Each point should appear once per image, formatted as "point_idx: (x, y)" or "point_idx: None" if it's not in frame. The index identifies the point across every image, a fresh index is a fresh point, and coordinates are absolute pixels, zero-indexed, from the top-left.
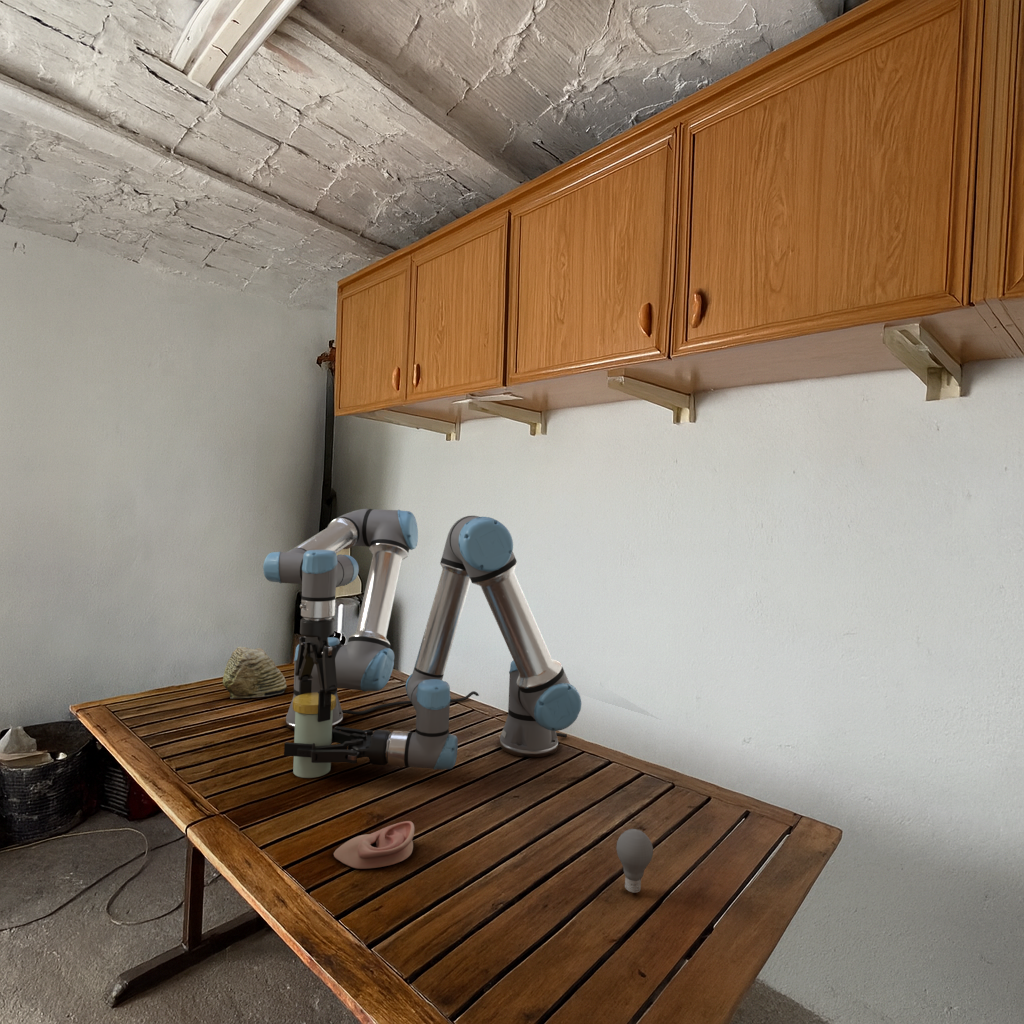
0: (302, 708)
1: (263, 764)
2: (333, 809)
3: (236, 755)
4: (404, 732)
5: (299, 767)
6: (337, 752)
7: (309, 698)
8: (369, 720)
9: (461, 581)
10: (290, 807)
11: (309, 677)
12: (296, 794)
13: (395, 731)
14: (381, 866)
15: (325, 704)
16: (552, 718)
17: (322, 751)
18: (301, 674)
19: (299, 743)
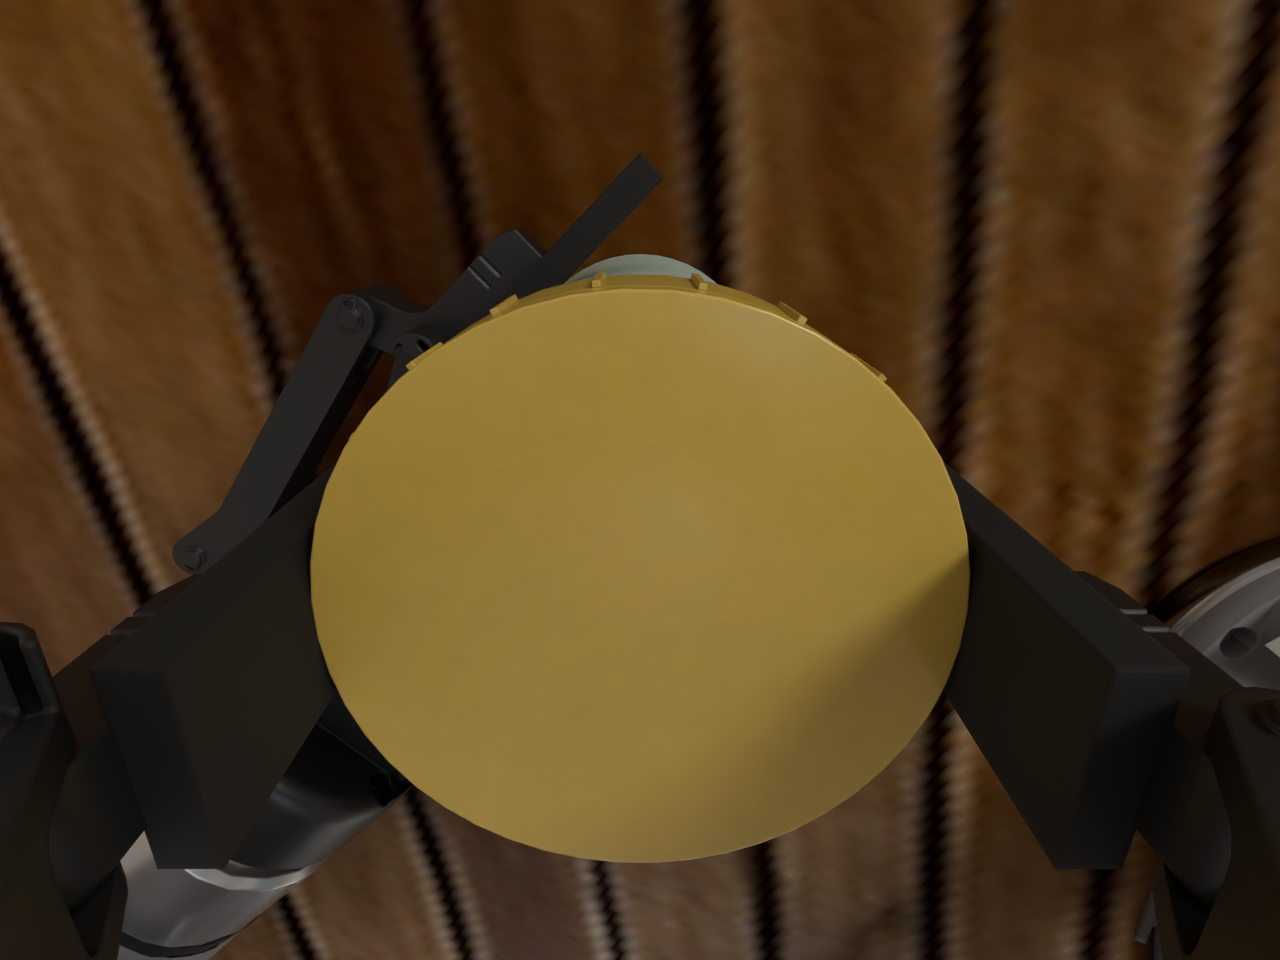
0: (457, 335)
1: (931, 144)
2: (66, 242)
3: (1227, 32)
4: (144, 918)
5: (589, 269)
6: (250, 457)
7: (685, 566)
8: (1056, 895)
9: None
10: (195, 22)
11: (1159, 898)
12: (360, 139)
13: (191, 888)
14: None
15: (146, 609)
16: None
17: (306, 366)
18: (1275, 830)
19: (562, 273)
